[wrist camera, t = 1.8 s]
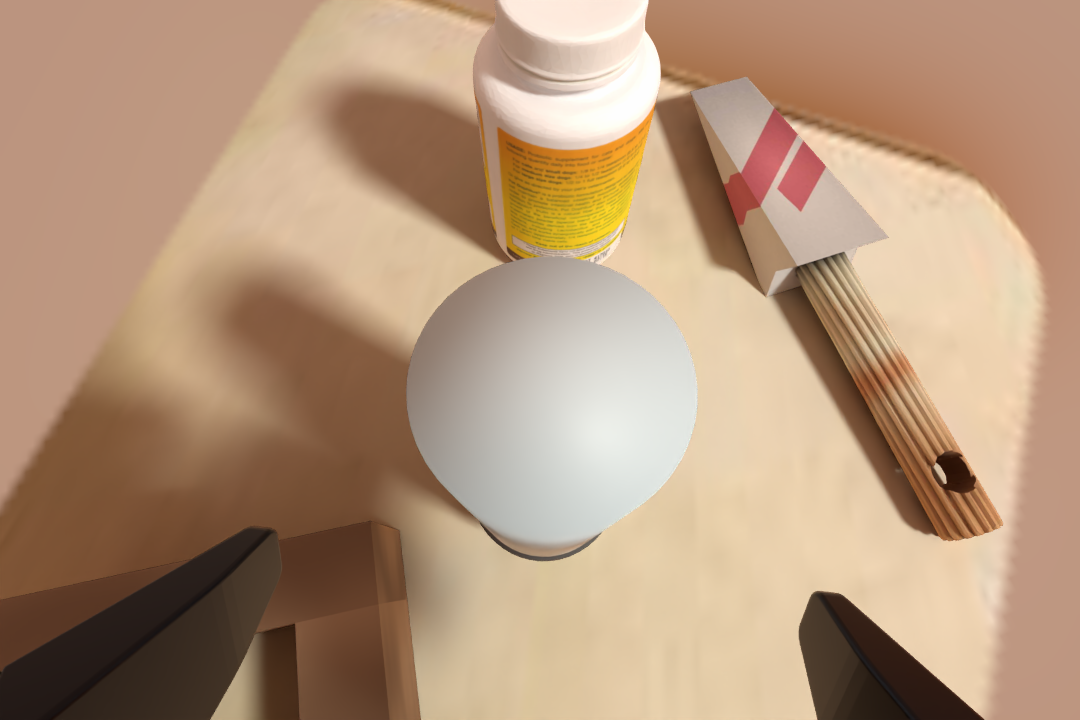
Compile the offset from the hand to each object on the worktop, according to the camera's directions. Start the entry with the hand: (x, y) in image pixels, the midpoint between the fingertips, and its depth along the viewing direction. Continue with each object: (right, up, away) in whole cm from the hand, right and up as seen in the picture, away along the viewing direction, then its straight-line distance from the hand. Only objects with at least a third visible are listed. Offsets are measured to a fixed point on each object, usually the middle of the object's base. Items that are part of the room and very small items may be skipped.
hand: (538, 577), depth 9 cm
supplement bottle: (+1, +9, +14) cm, 17 cm away
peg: (0, -1, +10) cm, 10 cm away
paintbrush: (+11, +6, +13) cm, 19 cm away
